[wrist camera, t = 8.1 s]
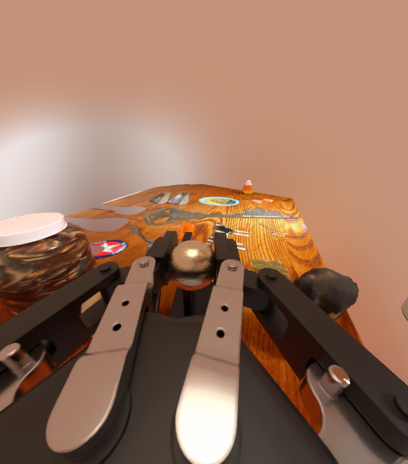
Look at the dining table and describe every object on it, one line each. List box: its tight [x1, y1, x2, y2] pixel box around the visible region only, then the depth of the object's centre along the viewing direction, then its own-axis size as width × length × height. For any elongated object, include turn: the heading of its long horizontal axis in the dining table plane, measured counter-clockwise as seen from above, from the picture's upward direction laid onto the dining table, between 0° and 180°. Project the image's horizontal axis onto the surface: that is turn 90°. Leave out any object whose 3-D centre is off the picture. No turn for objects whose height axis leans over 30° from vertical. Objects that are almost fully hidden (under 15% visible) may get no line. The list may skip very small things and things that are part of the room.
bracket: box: [169, 232, 217, 319], centre depth 23 cm, size 12×10×14 cm
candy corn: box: [242, 180, 253, 194], centre depth 96 cm, size 6×3×8 cm, turn 76°
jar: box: [0, 213, 98, 317], centre depth 25 cm, size 12×12×15 cm
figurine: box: [293, 268, 359, 320], centre depth 19 cm, size 6×6×12 cm
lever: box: [167, 240, 217, 291], centre depth 15 cm, size 13×3×3 cm, turn 177°
